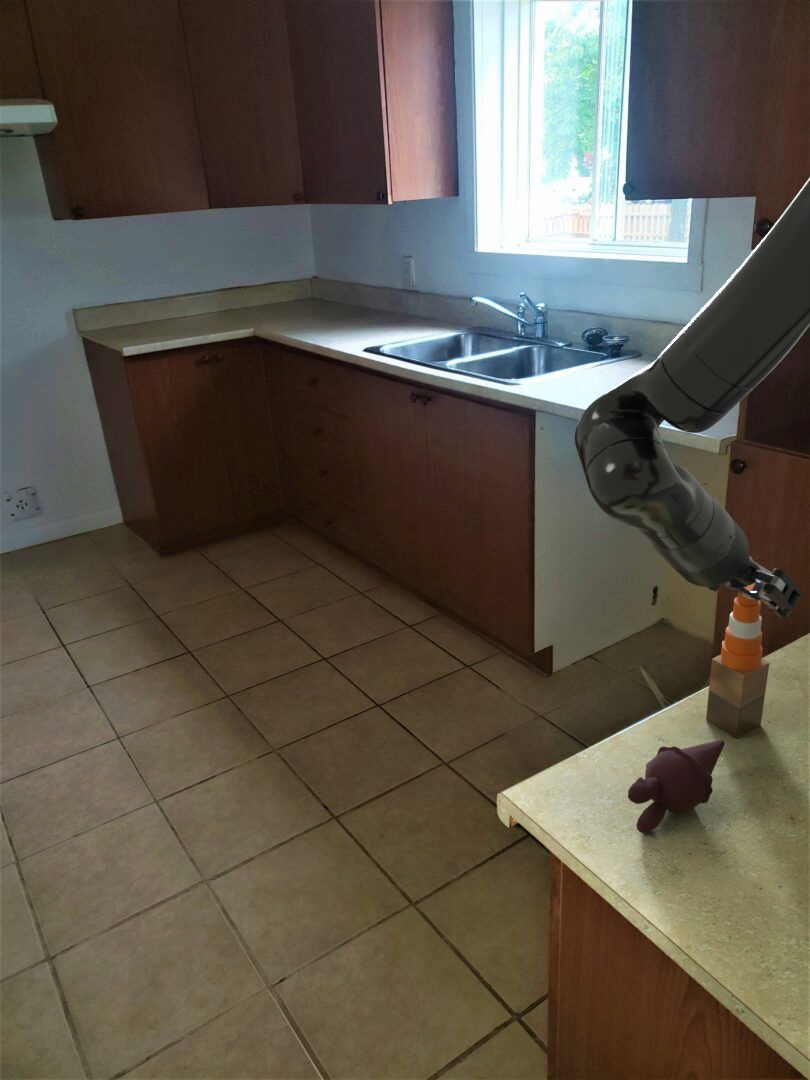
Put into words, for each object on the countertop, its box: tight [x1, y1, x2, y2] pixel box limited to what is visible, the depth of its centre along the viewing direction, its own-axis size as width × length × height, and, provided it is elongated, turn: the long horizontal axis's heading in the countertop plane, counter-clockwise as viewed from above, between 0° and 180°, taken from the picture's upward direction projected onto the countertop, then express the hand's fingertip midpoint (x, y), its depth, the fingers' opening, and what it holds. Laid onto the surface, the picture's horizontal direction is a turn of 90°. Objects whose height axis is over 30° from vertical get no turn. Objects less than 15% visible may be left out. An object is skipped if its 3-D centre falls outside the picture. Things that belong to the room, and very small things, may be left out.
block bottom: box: [705, 689, 766, 739], centre depth 99 cm, size 4×4×4 cm
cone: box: [720, 582, 764, 671], centre depth 94 cm, size 4×4×10 cm
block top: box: [708, 654, 770, 708], centre depth 97 cm, size 4×4×4 cm
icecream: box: [627, 739, 726, 834], centre depth 87 cm, size 7×7×15 cm
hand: (750, 596), depth 92 cm, fingers open, 8 cm apart
